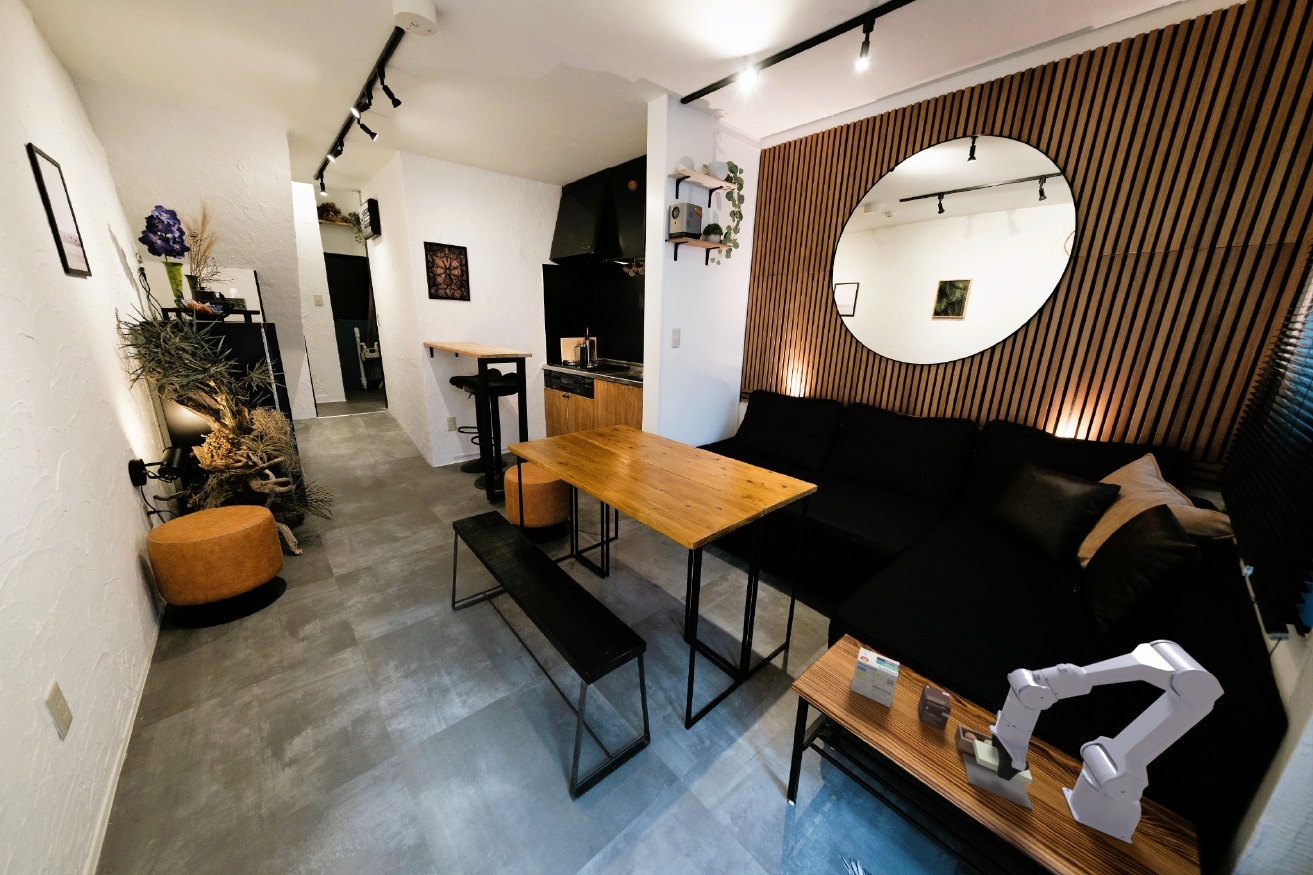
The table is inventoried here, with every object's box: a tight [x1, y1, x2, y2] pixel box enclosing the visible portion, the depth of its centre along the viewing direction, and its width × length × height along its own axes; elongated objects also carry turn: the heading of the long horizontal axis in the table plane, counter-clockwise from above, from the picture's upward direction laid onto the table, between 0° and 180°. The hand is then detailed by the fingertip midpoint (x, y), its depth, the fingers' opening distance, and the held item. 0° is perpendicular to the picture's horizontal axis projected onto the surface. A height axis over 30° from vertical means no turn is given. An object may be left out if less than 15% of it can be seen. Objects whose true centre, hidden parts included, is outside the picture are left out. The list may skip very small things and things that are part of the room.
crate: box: [954, 724, 992, 758], centre depth 110 cm, size 9×4×4 cm, turn 64°
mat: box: [961, 753, 1033, 811], centre depth 104 cm, size 12×8×1 cm, turn 64°
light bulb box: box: [850, 647, 900, 708], centre depth 125 cm, size 11×7×11 cm, turn 58°
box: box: [917, 683, 952, 731], centre depth 119 cm, size 6×6×7 cm
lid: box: [973, 739, 1033, 786], centre depth 102 cm, size 10×6×2 cm, turn 64°
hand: (1000, 766), depth 102 cm, fingers closed on lid, 5 cm apart
